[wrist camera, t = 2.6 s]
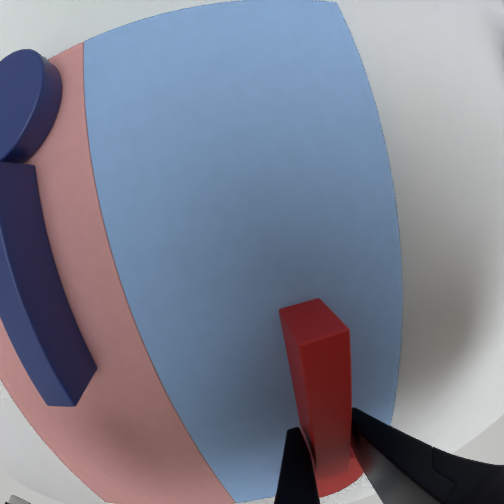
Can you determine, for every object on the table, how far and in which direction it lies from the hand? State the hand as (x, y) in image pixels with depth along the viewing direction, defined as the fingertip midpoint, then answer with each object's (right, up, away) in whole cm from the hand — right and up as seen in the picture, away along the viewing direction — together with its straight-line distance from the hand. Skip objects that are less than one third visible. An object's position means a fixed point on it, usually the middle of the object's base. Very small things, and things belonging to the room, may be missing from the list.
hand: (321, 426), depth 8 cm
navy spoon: (-9, +7, -2) cm, 11 cm away
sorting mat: (-5, +3, 0) cm, 6 cm away
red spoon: (0, 0, +1) cm, 1 cm away
